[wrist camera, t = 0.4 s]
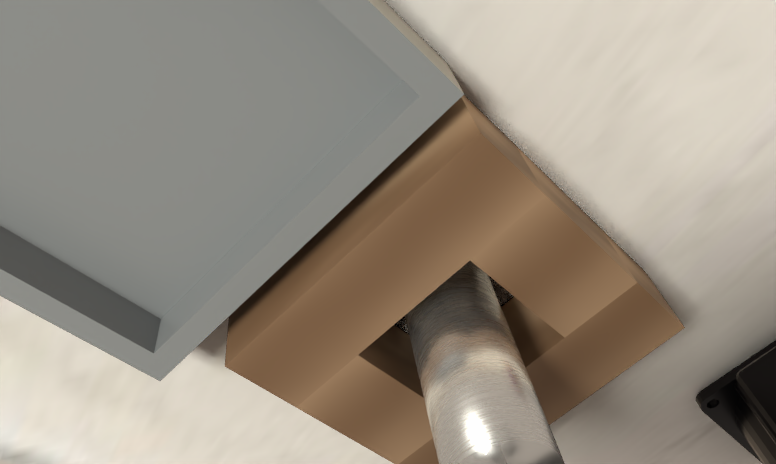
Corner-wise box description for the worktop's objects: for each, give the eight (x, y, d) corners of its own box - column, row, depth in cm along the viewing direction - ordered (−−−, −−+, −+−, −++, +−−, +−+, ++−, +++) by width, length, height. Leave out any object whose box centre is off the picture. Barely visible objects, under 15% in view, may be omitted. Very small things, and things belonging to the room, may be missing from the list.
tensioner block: (644, 271, 25) (685, 327, 23) (435, 430, 28) (450, 495, 26) (455, 87, 21) (480, 132, 18) (230, 302, 24) (224, 366, 21)
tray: (447, 63, 20) (464, 94, 18) (169, 333, 24) (160, 381, 22) (25, -356, 14) (-12, -371, 13) (-253, 91, 18) (-312, 129, 16)
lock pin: (505, 281, 25) (589, 474, 18) (441, 333, 26) (498, 535, 19) (446, 233, 23) (514, 423, 17) (381, 290, 24) (420, 491, 18)
